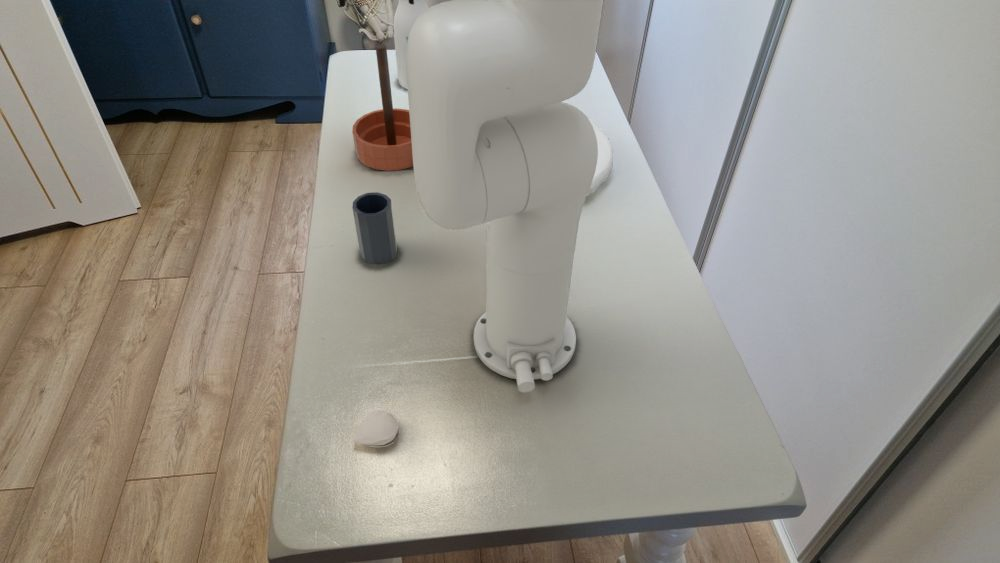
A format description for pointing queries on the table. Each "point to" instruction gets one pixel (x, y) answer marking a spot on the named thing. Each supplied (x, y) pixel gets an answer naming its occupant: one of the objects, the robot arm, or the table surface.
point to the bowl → (383, 141)
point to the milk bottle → (405, 32)
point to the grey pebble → (377, 430)
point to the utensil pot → (375, 228)
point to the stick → (386, 94)
